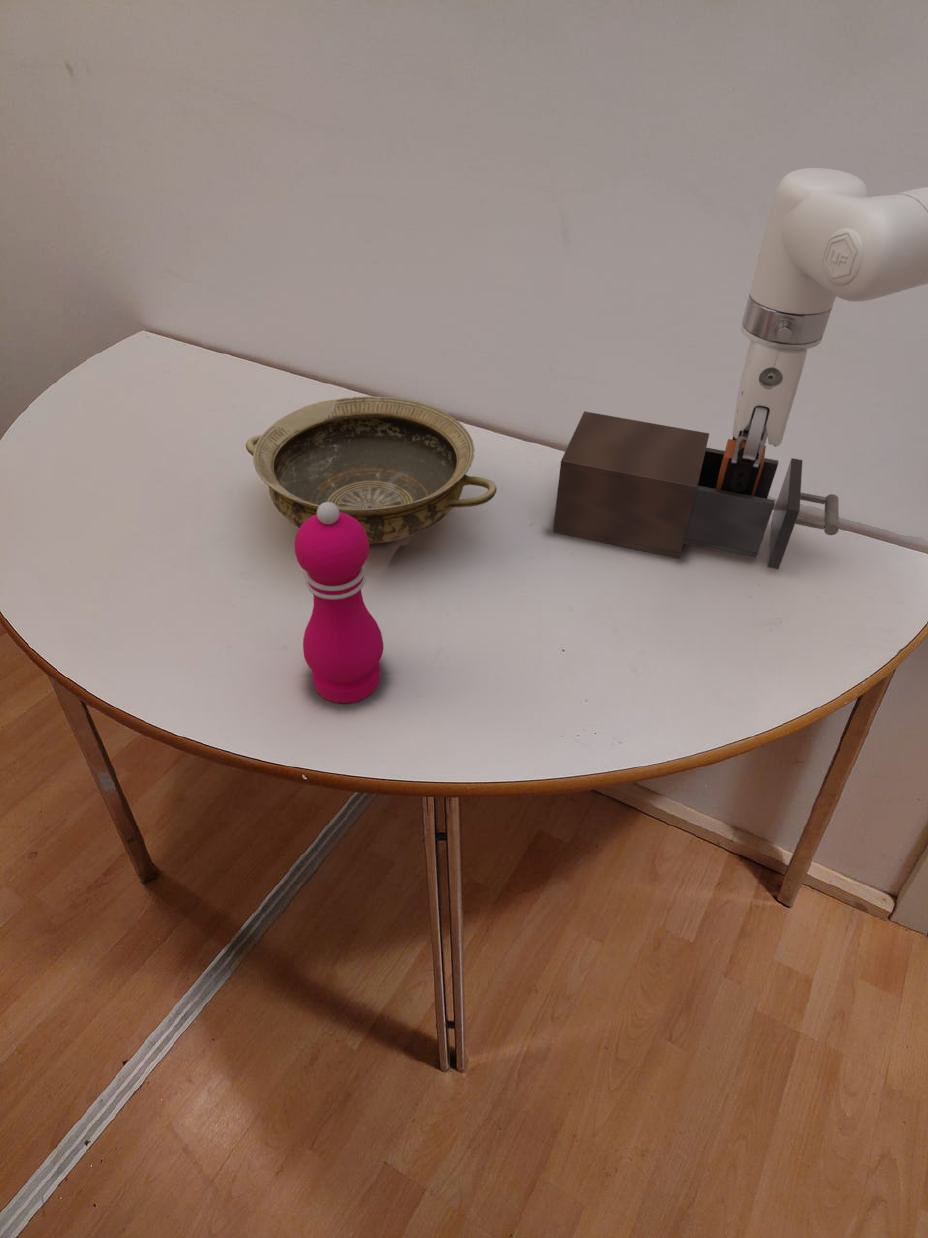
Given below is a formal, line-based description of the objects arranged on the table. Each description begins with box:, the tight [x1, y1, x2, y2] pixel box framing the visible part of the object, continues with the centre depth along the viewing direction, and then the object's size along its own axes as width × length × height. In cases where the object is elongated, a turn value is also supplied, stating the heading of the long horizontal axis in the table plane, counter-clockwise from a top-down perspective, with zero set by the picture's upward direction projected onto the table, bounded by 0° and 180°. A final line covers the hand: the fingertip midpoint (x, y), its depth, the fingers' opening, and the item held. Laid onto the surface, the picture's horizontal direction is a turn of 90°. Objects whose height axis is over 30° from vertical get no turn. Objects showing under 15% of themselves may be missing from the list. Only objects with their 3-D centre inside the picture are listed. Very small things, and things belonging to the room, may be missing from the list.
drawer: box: [683, 447, 840, 570], centre depth 91 cm, size 18×10×8 cm, turn 71°
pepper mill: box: [294, 502, 384, 704], centre depth 71 cm, size 7×7×20 cm
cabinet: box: [552, 410, 710, 559], centre depth 94 cm, size 15×12×10 cm
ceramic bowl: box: [245, 395, 497, 545], centre depth 93 cm, size 30×24×10 cm
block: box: [716, 438, 767, 496], centre depth 89 cm, size 4×4×4 cm
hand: (737, 480), depth 90 cm, fingers closed on block, 4 cm apart
